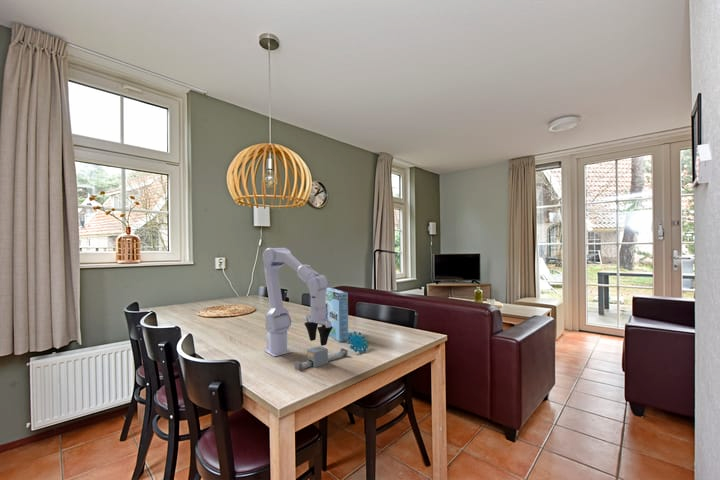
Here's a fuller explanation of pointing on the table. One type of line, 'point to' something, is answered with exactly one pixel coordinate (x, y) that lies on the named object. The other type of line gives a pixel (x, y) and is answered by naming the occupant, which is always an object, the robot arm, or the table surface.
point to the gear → (358, 342)
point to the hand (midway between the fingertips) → (318, 342)
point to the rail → (340, 354)
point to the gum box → (337, 313)
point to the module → (318, 356)
